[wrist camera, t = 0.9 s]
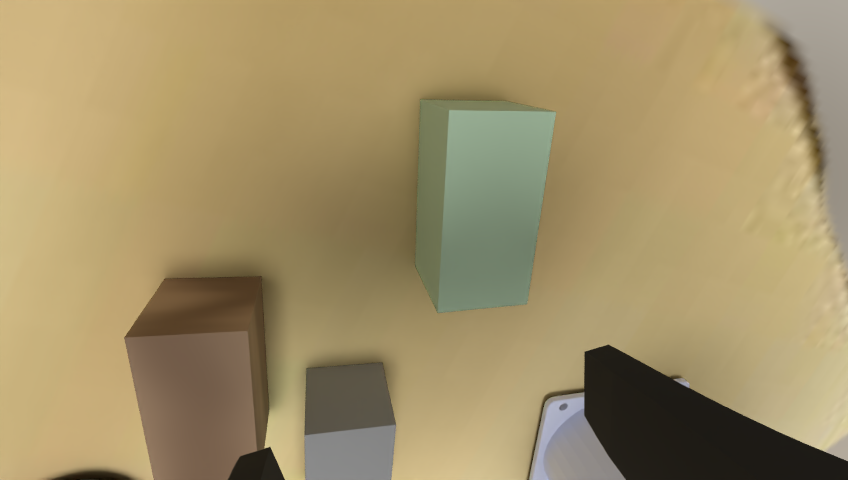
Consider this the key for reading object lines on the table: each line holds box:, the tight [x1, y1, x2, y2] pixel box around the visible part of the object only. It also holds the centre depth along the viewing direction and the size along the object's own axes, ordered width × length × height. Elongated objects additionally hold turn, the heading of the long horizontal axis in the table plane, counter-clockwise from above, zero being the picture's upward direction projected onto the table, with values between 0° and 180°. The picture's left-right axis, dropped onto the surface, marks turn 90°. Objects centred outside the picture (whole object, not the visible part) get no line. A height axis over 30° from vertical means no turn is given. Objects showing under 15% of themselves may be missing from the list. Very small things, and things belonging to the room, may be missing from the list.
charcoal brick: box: [305, 363, 396, 480], centre depth 19 cm, size 4×7×4 cm, turn 175°
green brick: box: [415, 99, 556, 313], centre depth 16 cm, size 4×7×4 cm, turn 178°
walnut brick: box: [124, 276, 269, 480], centre depth 16 cm, size 4×7×4 cm, turn 174°
